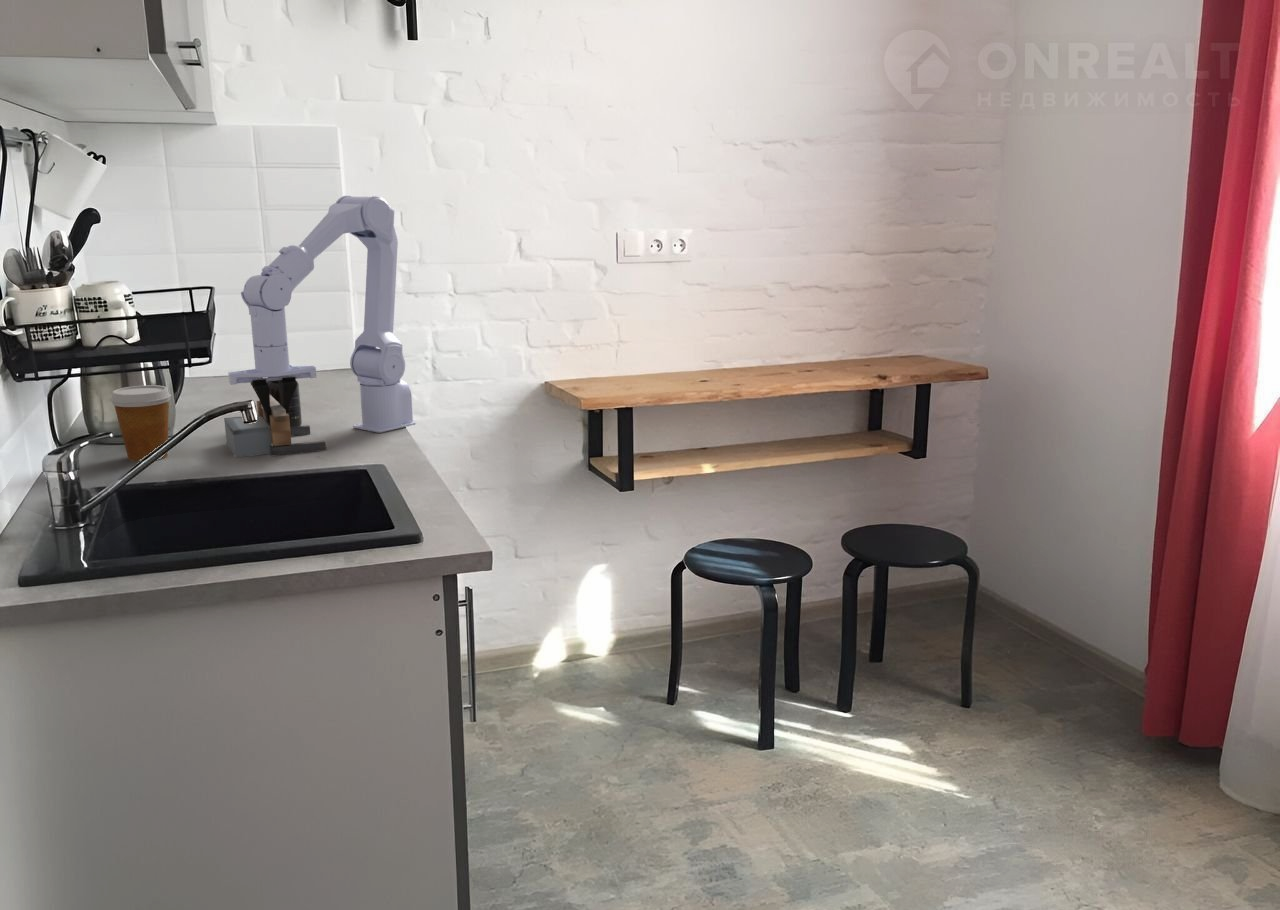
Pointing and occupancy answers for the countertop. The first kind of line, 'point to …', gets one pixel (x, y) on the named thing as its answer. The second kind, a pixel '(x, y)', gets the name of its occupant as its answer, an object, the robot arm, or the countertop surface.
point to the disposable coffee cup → (142, 418)
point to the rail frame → (298, 446)
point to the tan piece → (277, 423)
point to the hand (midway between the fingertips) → (277, 420)
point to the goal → (247, 437)
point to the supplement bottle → (294, 405)
